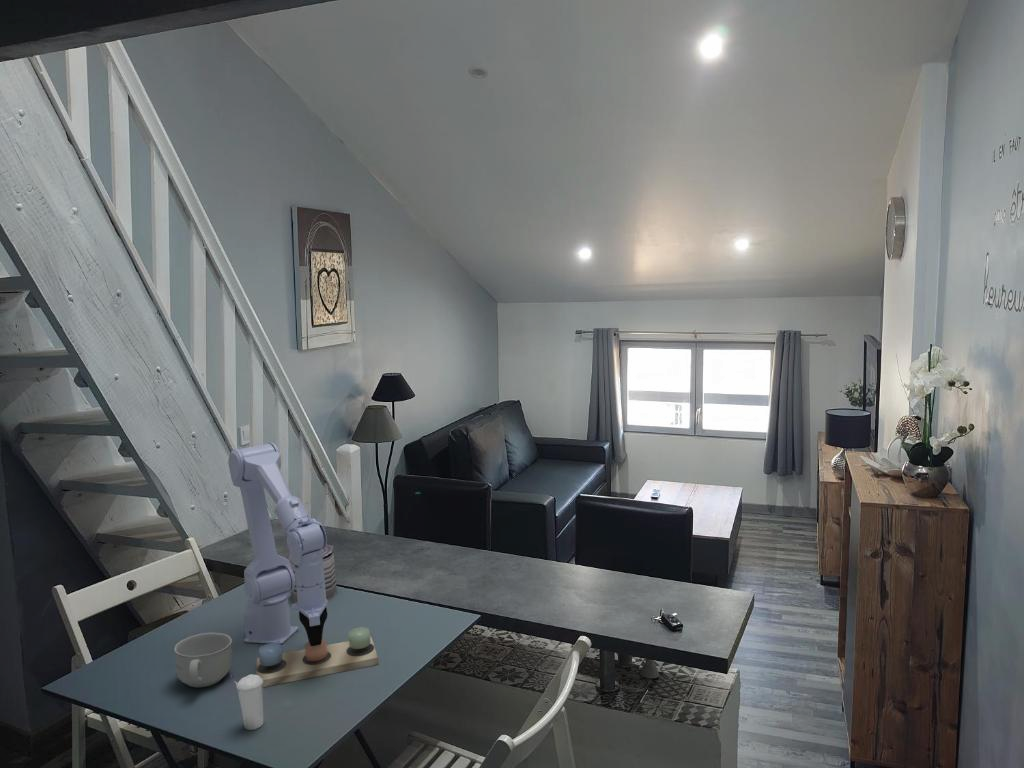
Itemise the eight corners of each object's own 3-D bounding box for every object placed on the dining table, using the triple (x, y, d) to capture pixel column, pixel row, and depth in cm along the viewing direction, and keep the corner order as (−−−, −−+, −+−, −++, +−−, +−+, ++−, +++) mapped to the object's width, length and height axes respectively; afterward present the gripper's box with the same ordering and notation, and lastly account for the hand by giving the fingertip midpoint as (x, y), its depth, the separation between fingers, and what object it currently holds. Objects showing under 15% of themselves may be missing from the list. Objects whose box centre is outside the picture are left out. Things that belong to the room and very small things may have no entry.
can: (337, 601, 187) (333, 555, 186) (290, 607, 185) (286, 561, 183) (337, 584, 198) (333, 541, 197) (292, 590, 196) (289, 546, 194)
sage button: (350, 650, 155) (349, 638, 155) (348, 641, 160) (347, 629, 159) (371, 646, 157) (370, 634, 156) (368, 637, 161) (368, 625, 161)
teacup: (192, 666, 157) (188, 631, 156) (243, 665, 157) (239, 629, 156) (159, 703, 144) (155, 664, 143) (215, 702, 143) (211, 663, 142)
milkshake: (240, 719, 137) (234, 668, 136) (269, 716, 137) (264, 665, 136) (233, 734, 133) (227, 681, 131) (263, 731, 133) (258, 678, 132)
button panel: (256, 688, 148) (256, 680, 147) (257, 664, 157) (256, 657, 157) (378, 664, 155) (377, 657, 155) (371, 643, 164) (371, 636, 164)
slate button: (259, 667, 150) (258, 655, 150) (260, 657, 154) (258, 645, 154) (282, 663, 151) (281, 650, 151) (282, 653, 156) (281, 641, 155)
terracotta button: (306, 663, 153) (305, 650, 153) (305, 653, 157) (304, 641, 157) (328, 658, 154) (327, 646, 154) (326, 649, 158) (325, 637, 158)
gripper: (289, 572, 159) (294, 632, 161) (291, 598, 145) (297, 664, 147) (323, 567, 161) (328, 626, 163) (328, 592, 148) (333, 657, 149)
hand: (315, 644), depth 155 cm, fingers closed, pressing on terracotta button
